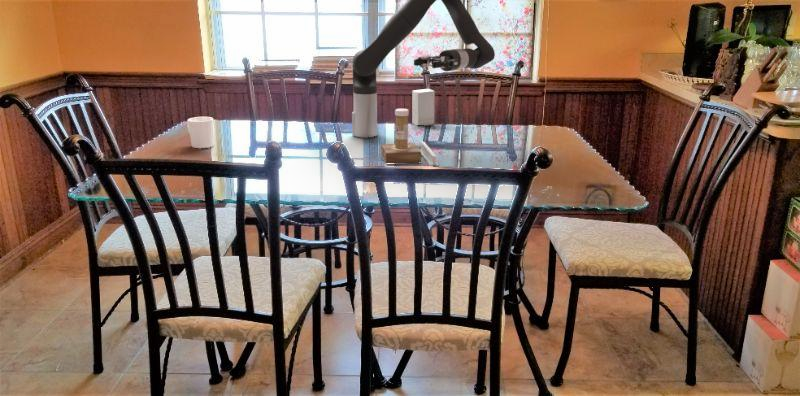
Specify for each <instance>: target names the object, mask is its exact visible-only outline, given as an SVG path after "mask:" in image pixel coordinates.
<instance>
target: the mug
mask: <svg viewBox="0 0 800 396" xmlns="http://www.w3.org/2000/svg"><path fill="white" fill-rule="evenodd" d="M186 126H187V130H188V131H187V132H188V133H189V136H190V143H191V144H190V145H191V147H192V148H193V147H195V148H208V149H211V148H210V147H212V148H213V146H215V127H214V126H215V125H214V118H213V117H210V116H195V117H190V118H188V119H187V121H186Z"/></svg>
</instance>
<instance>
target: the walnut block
mask: <svg viewBox="0 0 800 396" xmlns="http://www.w3.org/2000/svg"><path fill="white" fill-rule="evenodd" d="M420 150H421V149H419V148H418V147H417V145H416V144H415V143H414V142H413V143H410V142H408V148H405V149H398V148H396V147H395V143H385V144H381V145H380V155H382V156H381V158H382V157H383V158H384V160H385V161H384V160H383V161H384V163H385V162H386V163H410V164H409V165H411V163H415V164H420V163H419V162H421V163H422V155H421V151H420ZM383 158H382V159H383ZM386 163H385V164H386Z"/></svg>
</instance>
